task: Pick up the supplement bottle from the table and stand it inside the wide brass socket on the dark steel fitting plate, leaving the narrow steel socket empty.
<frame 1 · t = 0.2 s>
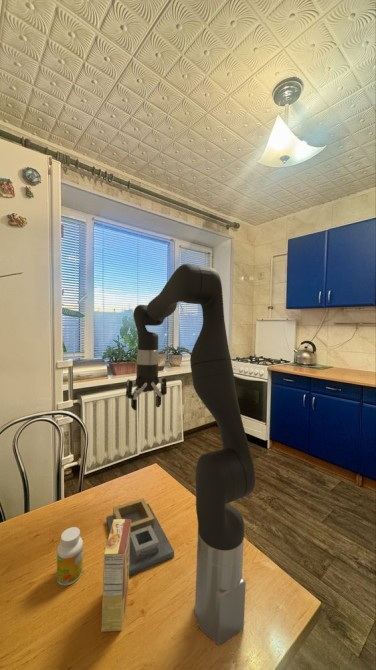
hand: (146, 408, 90), 29 cm above the table, tool pointing down, fingers open, 8 cm apart
fitting plate: (137, 538, 69), on the table
supplement bottle: (69, 575, 59), on the table
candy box: (116, 607, 52), on the table
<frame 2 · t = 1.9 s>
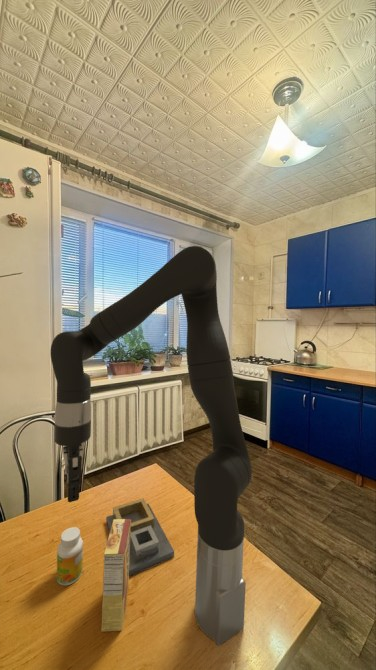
hand: (71, 488, 58), 20 cm above the table, tool pointing down, fingers open, 8 cm apart
nothing on the table moved.
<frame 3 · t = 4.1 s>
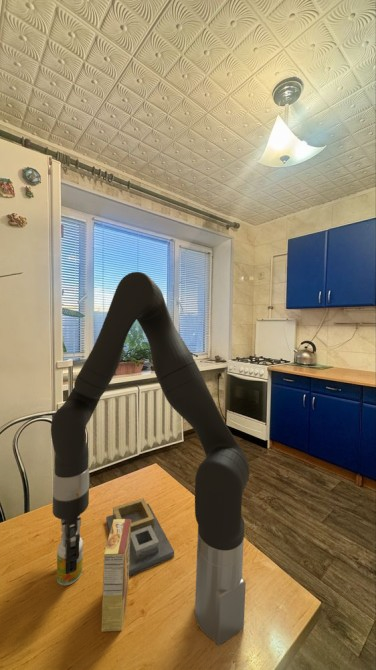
hand: (70, 559, 59), 4 cm above the table, tool pointing down, fingers closed on supplement bottle, 5 cm apart
supplement bottle: (69, 575, 59), on the table, touching gripper
everything else where it was.
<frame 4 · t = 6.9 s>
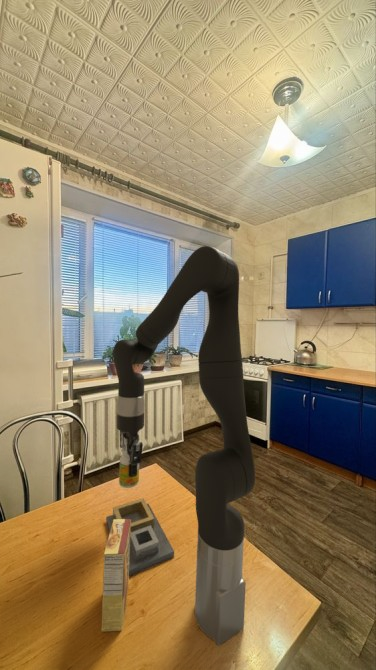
hand: (129, 470, 71), 17 cm above the table, tool pointing down, fingers closed on supplement bottle, 5 cm apart
supplement bottle: (128, 483, 71), point 14 cm above the table, touching gripper
everything else where it was.
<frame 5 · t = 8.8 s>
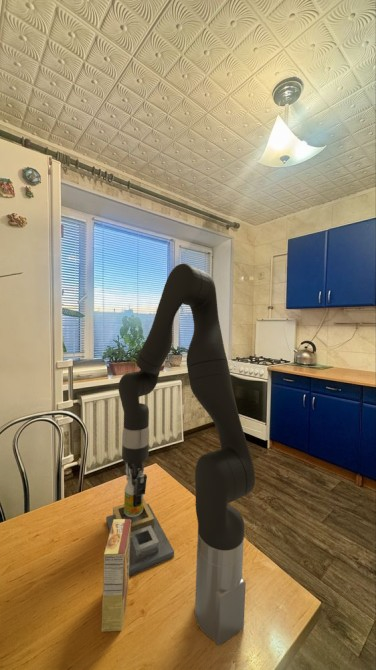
hand: (134, 498, 73), 8 cm above the table, tool pointing down, fingers closed on supplement bottle, 5 cm apart
supplement bottle: (133, 511, 73), point 4 cm above the table, touching gripper
everything else where it was.
when the fingers open (6 cm above the table, at t = 10.2 s): supplement bottle stays where it is, resting on fitting plate.
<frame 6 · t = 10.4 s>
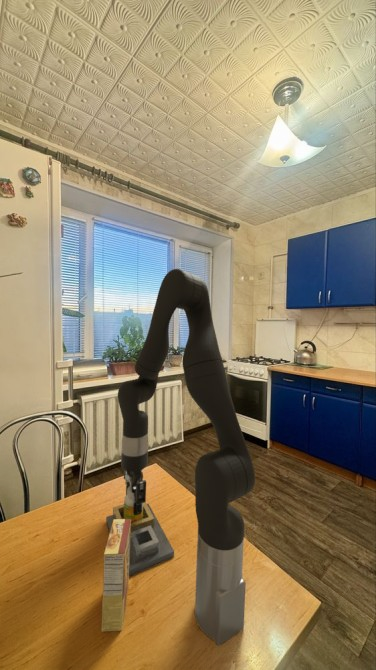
hand: (133, 504, 73), 6 cm above the table, tool pointing down, fingers open, 7 cm apart
supplement bottle: (133, 522, 73), point 1 cm above the table, touching fitting plate
everything else where it was.
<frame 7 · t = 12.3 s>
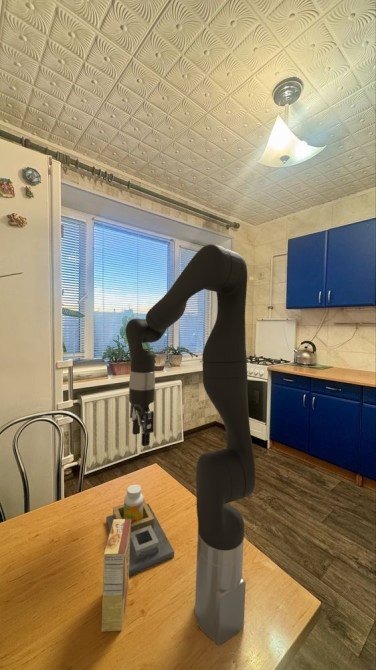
hand: (140, 439, 77), 24 cm above the table, tool pointing down, fingers open, 8 cm apart
nothing on the table moved.
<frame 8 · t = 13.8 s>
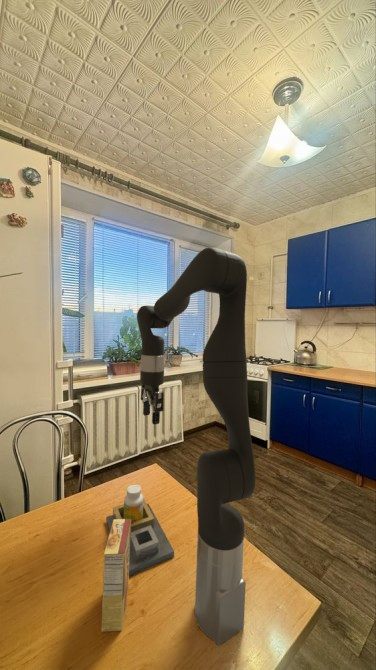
hand: (150, 419, 82), 28 cm above the table, tool pointing down, fingers open, 8 cm apart
nothing on the table moved.
at the end: supplement bottle 0.2 cm from the target spot on the fitting plate, point 1.3 cm above the fitting plate's base; supplement bottle tilted 0°; the gripper is holding nothing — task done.
